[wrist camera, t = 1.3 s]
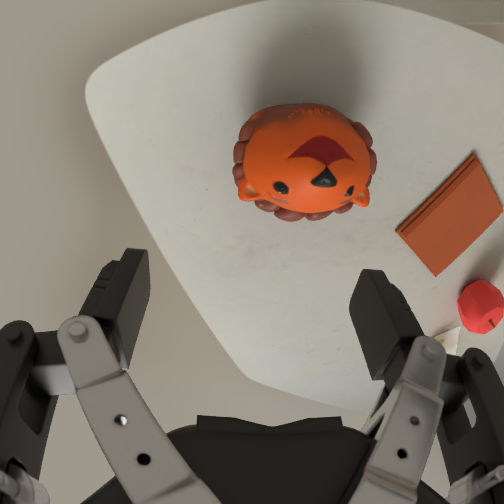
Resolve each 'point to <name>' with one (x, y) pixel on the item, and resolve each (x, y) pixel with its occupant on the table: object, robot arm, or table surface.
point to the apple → (480, 306)
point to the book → (452, 217)
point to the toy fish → (303, 161)
